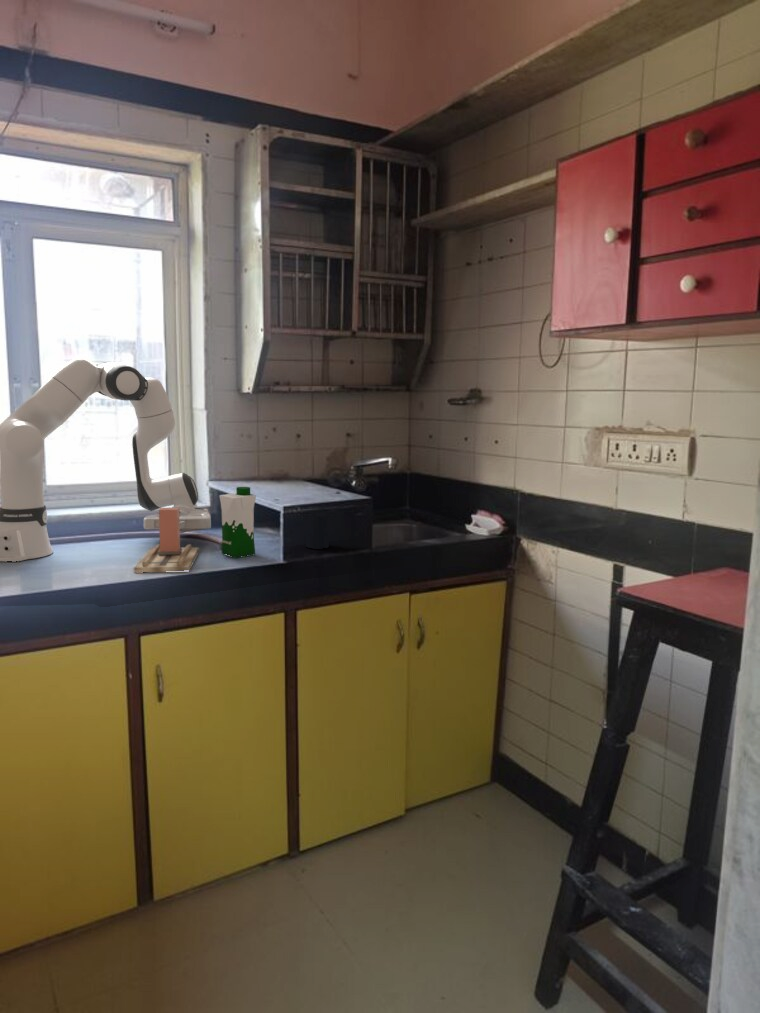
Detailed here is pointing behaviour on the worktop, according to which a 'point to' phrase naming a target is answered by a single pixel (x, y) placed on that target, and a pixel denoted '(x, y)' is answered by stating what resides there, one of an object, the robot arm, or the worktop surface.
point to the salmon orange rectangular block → (169, 531)
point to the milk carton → (238, 522)
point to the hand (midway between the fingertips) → (174, 526)
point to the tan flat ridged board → (166, 560)
